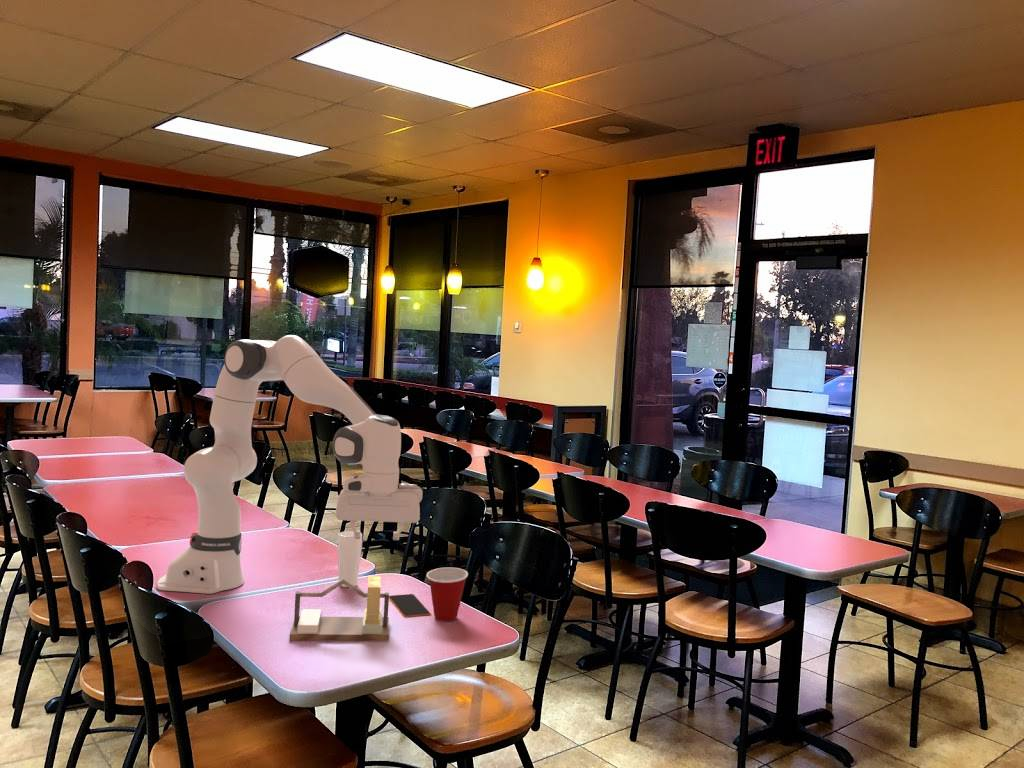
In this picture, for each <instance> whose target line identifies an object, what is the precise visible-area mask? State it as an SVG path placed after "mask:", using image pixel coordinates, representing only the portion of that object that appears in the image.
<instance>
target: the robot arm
mask: <svg viewBox="0 0 1024 768" xmlns="http://www.w3.org/2000/svg"><path fill="white" fill-rule="evenodd" d="M223 359H224V360H223V362H224V364H223V366H222V368H221V370H220V373H219V376H218V380H217V382H216V385H215V391H214V394H213V401H212V404H211V410H210V415H209V424H210V425H211V427H212V428H213V431H214V444H213V446H209V447H206V448H203V449H200V450H198V451H196V452H194V453H193V454H191V455H190V456H189V457H188V458H187V459H186V460H185V463H184V465H183V474H184V478H185V480H186V481H187V483H188V484H189V485H190V486H192V488H193V491H194V493H195V496H196V500H197V505H198V516H197V517H198V519H197V520H198V521H197V523H198V529H197V530H194V531H193V532H192V533H191V536H190V537H189V547H188V548H186V549H185V550H184V551H182V552H181V553H179V554H178V555H176V556H175V557H174V558H172V560H171V561H170V563H169V564H168V566H167V569H166V574H164V575H162V576H161V577H160V578H159V579H158V580H157V582H156V583H157V584H156V588H157V590H159V591H168V592H183V593H194V594H195V593H196V594H206V595H207V594H208V595H209V594H210V595H211V594H216V593H218V592H223V591H227V590H232V589H235V588H236V589H237V588H239V587H240V586H243V584H244V582H245V581H244V580H245V579H244V577H243V571H242V565H241V551H242V538H243V537H242V532H241V514H242V506H241V504H240V502H239V501H237V500H236V497H235V494H234V490H233V483H234V482H238V481H241V480H244V479H245V478H246V477H248V476H250V474H252V473H253V472H254V470H256V467H257V464H258V457H257V453H256V451H255V449H254V448H253V446H252V445H253V443H252V425H253V424H252V423H253V418H254V413H255V409H256V402H257V399H258V398H257V397H258V390H259V387H260V385H261V384H262V383H263V382H271V383H275V382H277V383H278V382H284V383H285V385H286V386H287V388H288V389H289V391H290V392H291V393H292V394H293V395H294V396H296V398H298V399H299V400H300V401H302V402H305V403H308V404H312V405H317V406H322V407H327V408H330V409H334V410H335V411H338V412H339V413H341V414H343V415H344V416H345V417H346V418H347V419H348V421H350V422H351V425H346V426H344V427H343V426H342V427H340V428H339V429H338V430H337V431H336V432H335V434H334V436H333V438H332V452H333V455H334V456H335V458H336V459H337V460H338V461H339V462H340V463H341V464H345V465H350V466H351V465H359V464H360V465H361V466H362V472H361V473H360V474H359V473H358V474H355V475H351V476H348V477H346V478H344V480H343V481H342V488H343V489H341V490H340V493H339V496H338V499H337V503H336V507H335V515H334V516H335V518H336V519H337V520H338V521H349V526H350V528H351V531H353V532H354V539H360V533H361V529H357V527H356V525H357V521H359V522H382V523H383V522H384V523H398V529H397V530H396V531H393V536H392V540H393V541H399V540H400V534H401V532H403V530H404V529H405V526H406V525H405V523H411V524H416V523H418V522H419V521H420V520H421V517H420V515H421V512H420V511H421V510H420V509H421V508H420V503H421V501H422V499H423V494H424V493H423V489H422V488H421V487H420V486H418V484H414V483H413V484H408V483H399V479H400V467H399V466H400V465H399V459H400V456H401V450H402V431H401V426H400V423H399V421H398V420H397V419H396V418H394V417H392V416H389V415H383V414H377V413H376V412H375V411H374V410H373V409H372V407H370V405H369V404H368V403H367V402H366V401H365V400H364V399H363V398H362V397H361V396H360V395H359V393H358V392H357V391H356V390H355V389H354V388H352V387H351V386H350V385H349V384H348V383H346V382H345V381H343V379H341V378H340V377H339V376H338V375H336V374H335V373H334V372H333V371H332V370H331V368H329V366H327V365H326V363H325V362H324V361H323V360H322V358H321V357H320V355H319V354H318V353H317V352H316V350H314V348H312V347H311V345H309V343H307V341H305V340H304V339H303V338H302V337H300V336H298V335H295V334H290V335H289V334H288V335H284V336H282V337H281V338H279V339H277V340H276V341H275V340H270V339H261V340H260V339H253V340H252V339H245V338H244V339H238V340H235V341H232V342H231V343H230V344H229V345H228V346H227V348H226V350H225V353H224V358H223Z"/></svg>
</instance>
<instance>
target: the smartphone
mask: <svg viewBox="0 0 1024 768" xmlns="http://www.w3.org/2000/svg"><path fill="white" fill-rule="evenodd" d="M389 599H390V600H389V602H391V604H392V605H393V604H394V605H393V606H394V607H395V609H397V611H398V610H399V611H398V613H400V615H401V616H402V617H403V618H405V619H406V618H414V617H415V618H416V617H426V616H427V617H428V616H429V617H430V616H431V615H432V614H431V612H430V611H429V609H427V607H426V606H425V605H424V604H423V603H422V602H421V601H420V599H418V597H417V596H416V595H415V594H414V593H409V594H396V595H389Z"/></svg>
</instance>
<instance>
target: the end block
mask: <svg viewBox="0 0 1024 768" xmlns="http://www.w3.org/2000/svg"><path fill="white" fill-rule="evenodd" d="M365 614H366V609H364V610H363V616H362V617H363V628H362V634H382V617H383V609H380V624H365Z"/></svg>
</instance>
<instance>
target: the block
mask: <svg viewBox="0 0 1024 768" xmlns="http://www.w3.org/2000/svg"><path fill="white" fill-rule="evenodd" d="M299 616H300V619H299V623H298V630H297V634H317V633H318V629H319V624H320V620H321V617H322V609H309V608H308V609H307V608H306V609H305V608H303V609H302V610H301V612H300V615H299Z"/></svg>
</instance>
